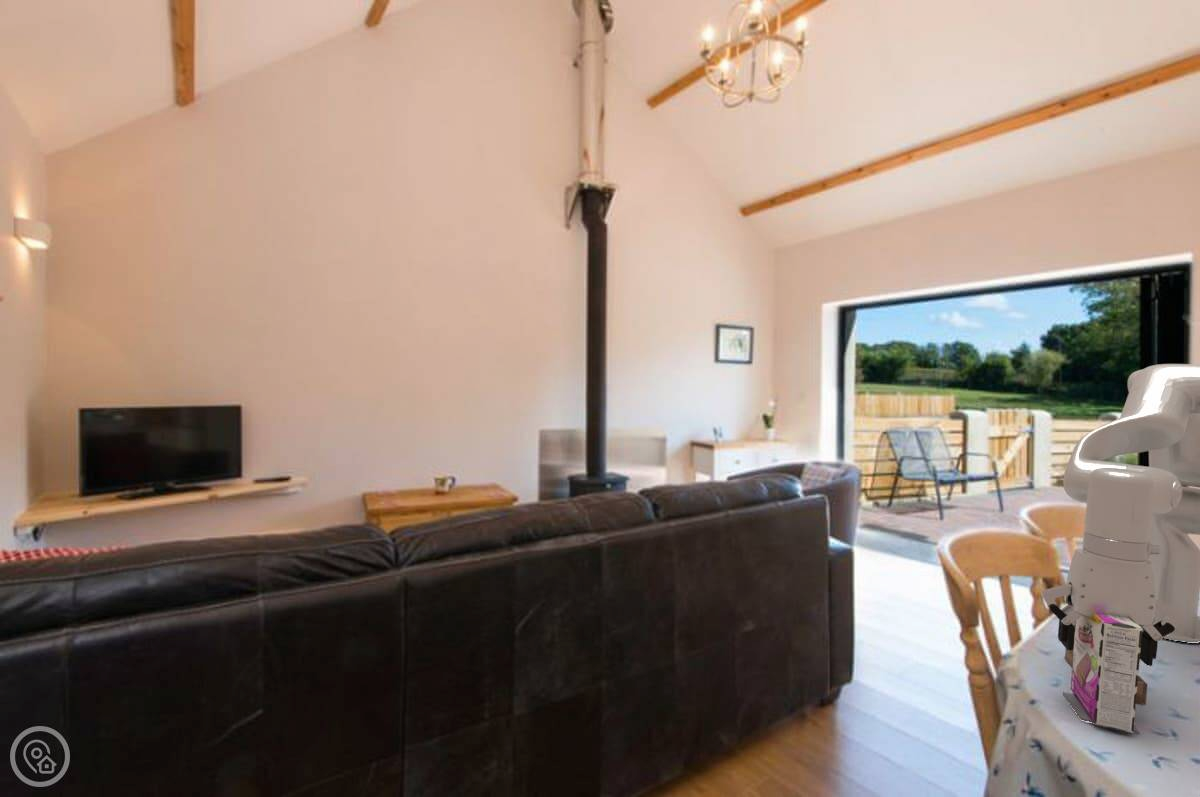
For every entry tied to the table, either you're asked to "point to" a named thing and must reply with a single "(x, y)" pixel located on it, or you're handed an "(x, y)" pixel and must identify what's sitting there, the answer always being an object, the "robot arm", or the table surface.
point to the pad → (1081, 711)
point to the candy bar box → (1107, 669)
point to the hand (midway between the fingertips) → (1104, 653)
